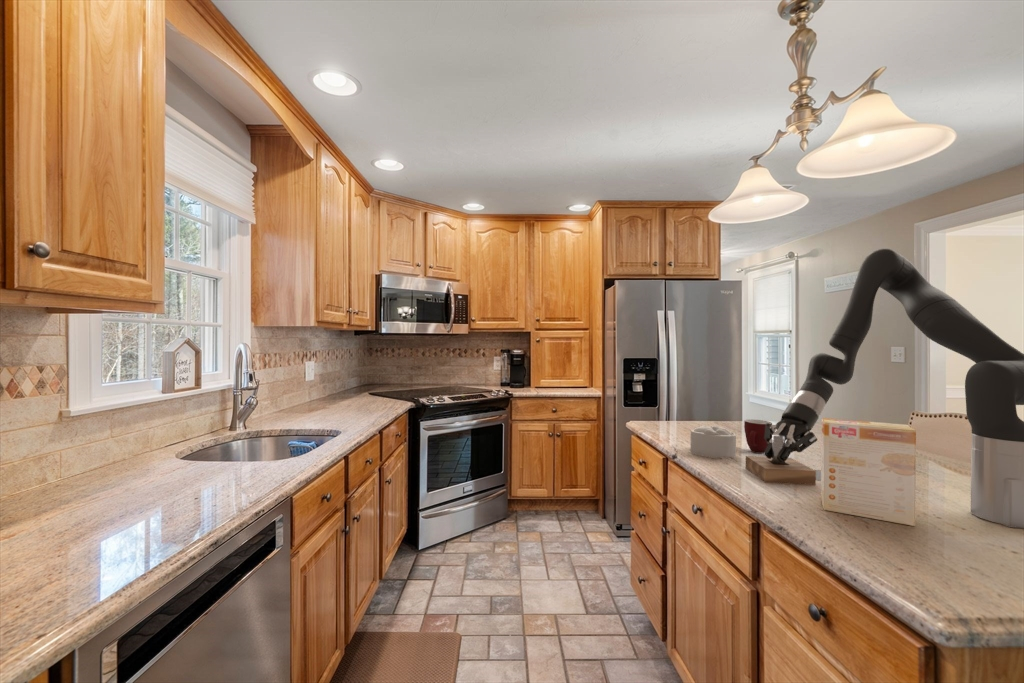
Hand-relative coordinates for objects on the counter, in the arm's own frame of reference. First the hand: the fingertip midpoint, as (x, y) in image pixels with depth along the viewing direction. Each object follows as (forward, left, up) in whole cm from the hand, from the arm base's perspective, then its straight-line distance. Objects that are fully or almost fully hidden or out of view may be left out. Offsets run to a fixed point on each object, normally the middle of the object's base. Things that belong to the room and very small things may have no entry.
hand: (773, 458), depth 112 cm
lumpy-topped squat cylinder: (+23, +8, -6) cm, 25 cm away
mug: (+28, -8, -6) cm, 30 cm away
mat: (+4, -13, -5) cm, 14 cm away
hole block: (+1, -2, -5) cm, 6 cm away
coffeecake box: (-21, -9, -6) cm, 23 cm away
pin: (+1, -2, -4) cm, 5 cm away
